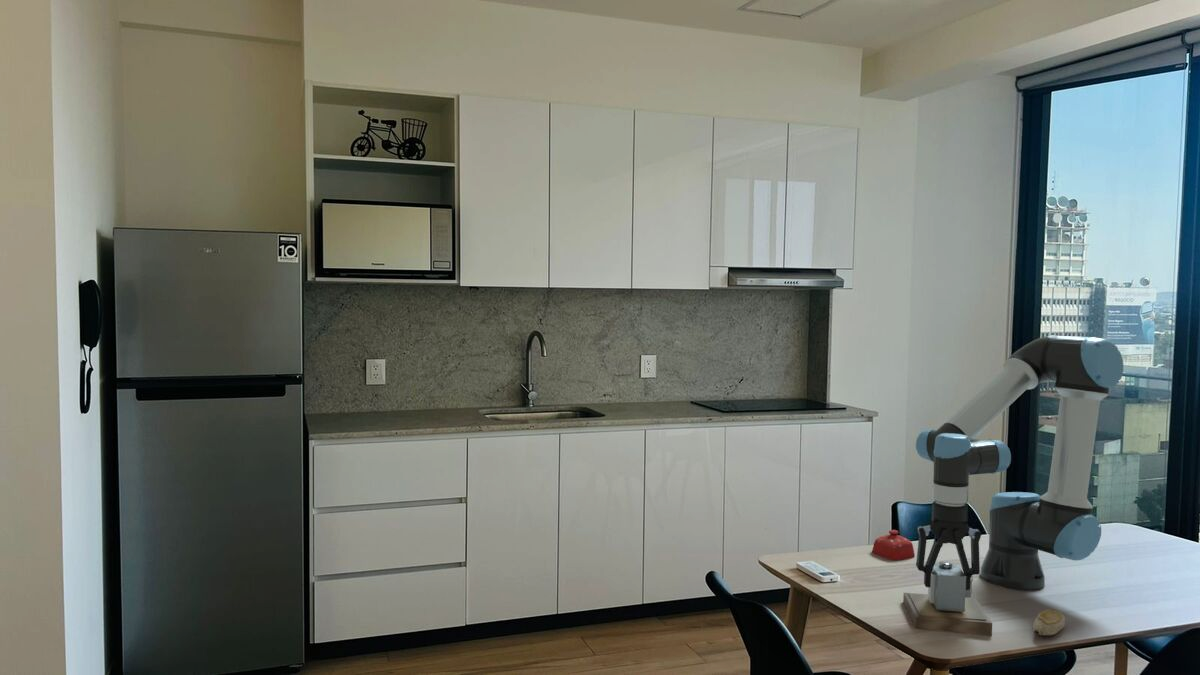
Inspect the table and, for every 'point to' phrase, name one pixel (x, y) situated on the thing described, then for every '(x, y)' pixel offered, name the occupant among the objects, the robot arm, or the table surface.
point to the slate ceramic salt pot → (969, 592)
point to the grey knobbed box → (949, 587)
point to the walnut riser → (947, 616)
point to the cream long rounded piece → (1048, 622)
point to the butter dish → (893, 547)
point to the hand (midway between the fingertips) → (946, 601)
